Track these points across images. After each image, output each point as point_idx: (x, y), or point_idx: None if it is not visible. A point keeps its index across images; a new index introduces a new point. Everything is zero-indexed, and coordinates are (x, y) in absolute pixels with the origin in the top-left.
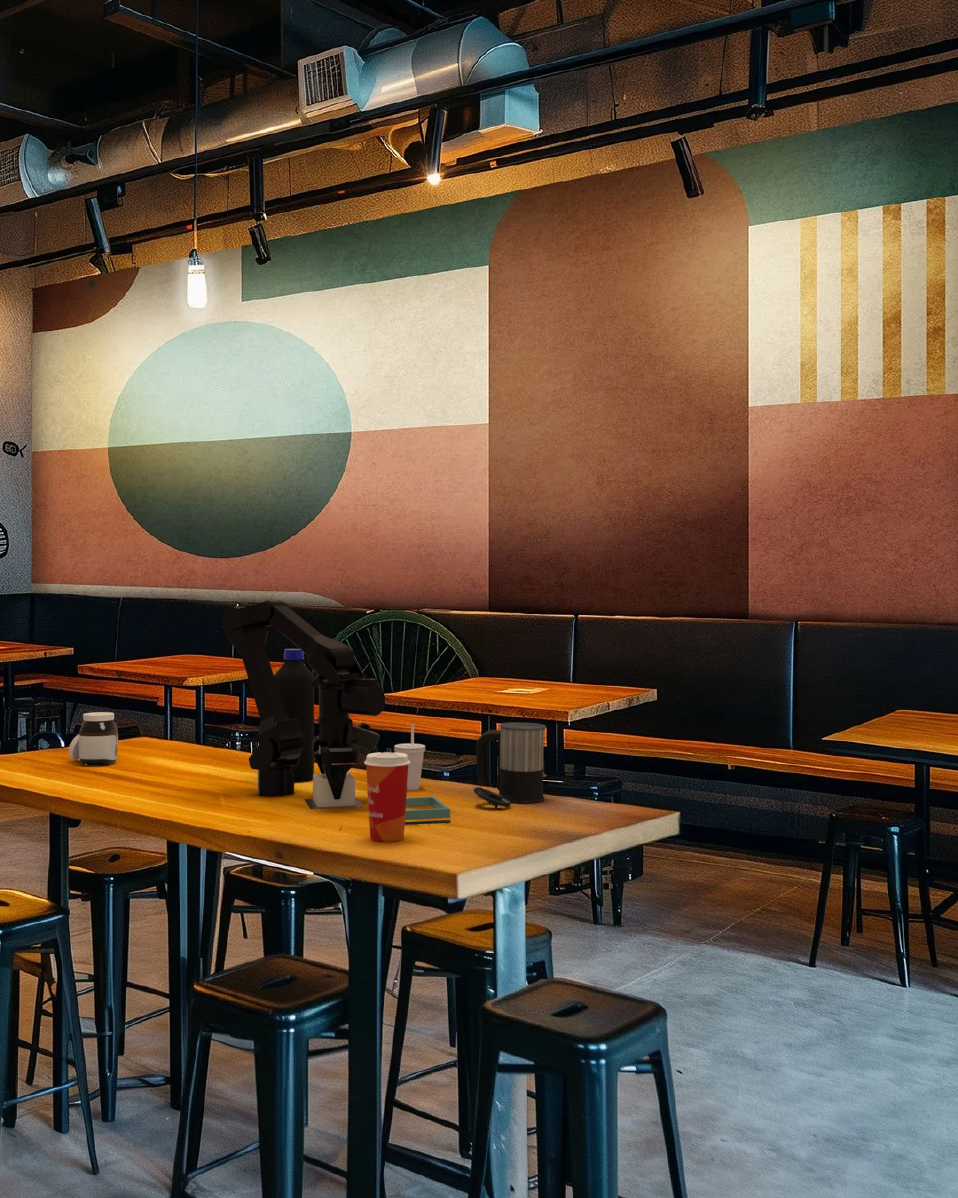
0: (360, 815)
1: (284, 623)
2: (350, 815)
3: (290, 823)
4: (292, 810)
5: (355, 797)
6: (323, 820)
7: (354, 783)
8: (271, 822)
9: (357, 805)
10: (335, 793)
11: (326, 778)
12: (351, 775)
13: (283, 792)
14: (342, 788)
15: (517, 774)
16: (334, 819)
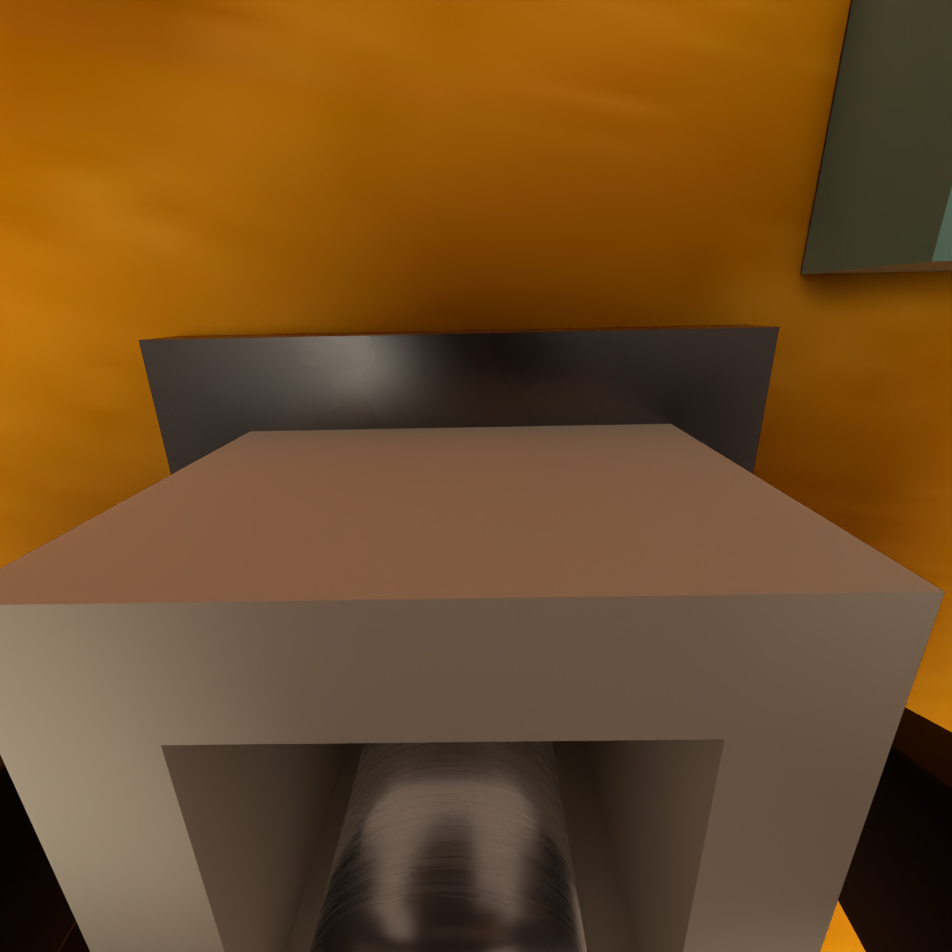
0: (879, 388)
1: None
2: (834, 480)
3: None
4: None
5: (165, 350)
6: (929, 697)
7: (850, 551)
8: (826, 946)
9: (676, 397)
10: None
11: (262, 913)
12: (371, 613)
13: (69, 933)
14: (938, 728)
15: None
16: (936, 623)
